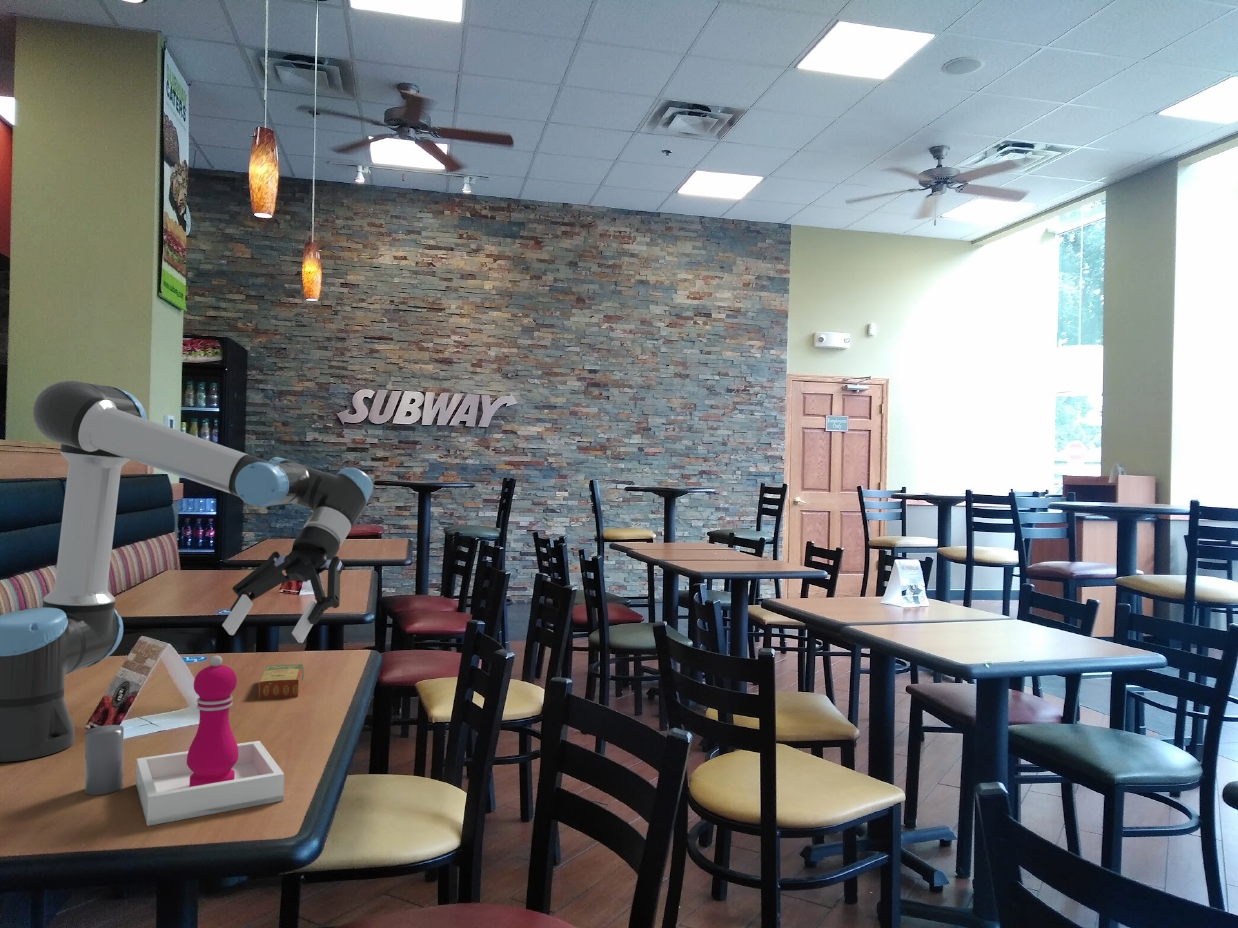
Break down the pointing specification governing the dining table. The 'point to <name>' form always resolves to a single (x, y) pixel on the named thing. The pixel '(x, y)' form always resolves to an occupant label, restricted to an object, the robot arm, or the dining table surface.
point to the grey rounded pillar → (104, 759)
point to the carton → (281, 681)
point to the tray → (206, 785)
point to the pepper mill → (213, 726)
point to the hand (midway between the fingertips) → (261, 634)
